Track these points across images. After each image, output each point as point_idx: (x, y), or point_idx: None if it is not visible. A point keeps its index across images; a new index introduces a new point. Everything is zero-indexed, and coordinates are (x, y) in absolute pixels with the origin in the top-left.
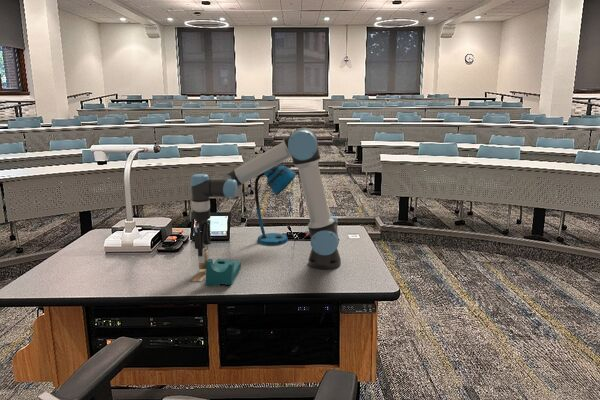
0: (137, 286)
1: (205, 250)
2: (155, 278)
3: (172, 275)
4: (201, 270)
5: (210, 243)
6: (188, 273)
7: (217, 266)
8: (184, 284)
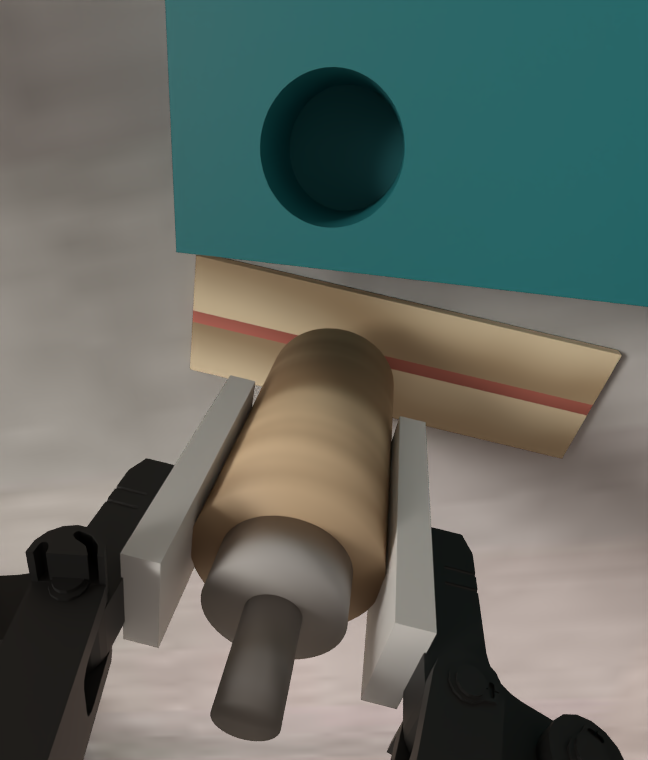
0: None
1: (323, 542)
2: None
3: None
4: None
5: (61, 540)
6: None
7: (539, 189)
8: (634, 486)
